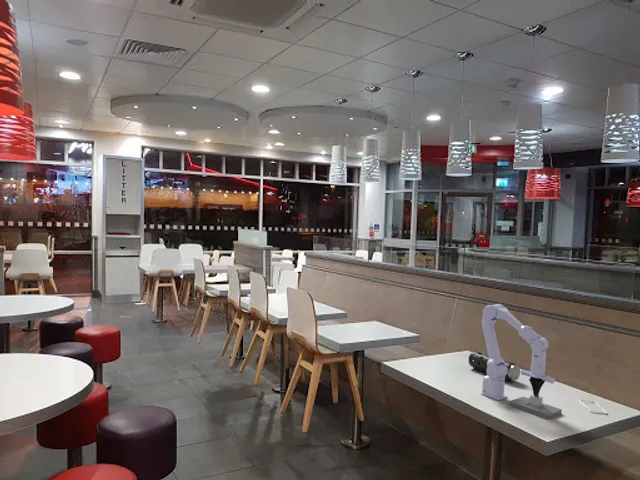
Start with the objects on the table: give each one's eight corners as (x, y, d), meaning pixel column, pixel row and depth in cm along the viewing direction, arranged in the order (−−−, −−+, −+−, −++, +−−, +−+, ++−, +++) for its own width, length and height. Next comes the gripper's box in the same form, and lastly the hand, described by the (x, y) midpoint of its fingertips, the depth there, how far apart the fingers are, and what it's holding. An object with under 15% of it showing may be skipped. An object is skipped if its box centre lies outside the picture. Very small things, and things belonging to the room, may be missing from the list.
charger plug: (528, 408, 216) (529, 393, 215) (533, 407, 218) (534, 392, 218) (537, 412, 212) (538, 396, 212) (541, 410, 215) (542, 394, 215)
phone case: (607, 415, 214) (594, 403, 229) (608, 412, 214) (595, 401, 229) (590, 413, 215) (578, 401, 230) (590, 410, 215) (578, 399, 230)
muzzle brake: (478, 367, 278) (480, 349, 278) (520, 382, 254) (522, 363, 254) (467, 369, 273) (468, 351, 273) (508, 384, 249) (510, 365, 249)
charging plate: (509, 405, 218) (509, 400, 218) (522, 400, 226) (523, 396, 226) (548, 419, 204) (548, 414, 204) (561, 413, 212) (561, 409, 212)
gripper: (518, 361, 218) (516, 391, 218) (550, 370, 206) (547, 401, 207) (526, 359, 222) (524, 388, 222) (557, 368, 211) (555, 398, 211)
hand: (536, 394), depth 215 cm, fingers closed, pressing on charger plug
